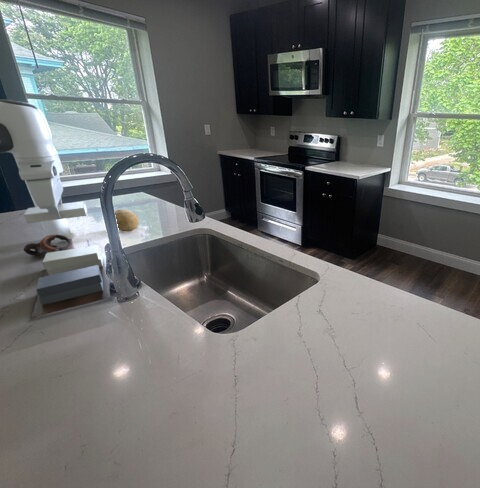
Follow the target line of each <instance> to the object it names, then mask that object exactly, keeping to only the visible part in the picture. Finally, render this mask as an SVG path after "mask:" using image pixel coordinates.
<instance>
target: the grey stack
mask: <svg viewBox="0 0 480 488" xmlns="http://www.w3.org/2000/svg"><path fill="white" fill-rule="evenodd" d="M99 291H103V279H102V276H101V272H100V269H99V266H98V265H95V266H91V267H86V268H82V269H77V270H72V271H68V272H63V273H59V274H54V275H50V276H45V277H44V276H41V277H38V279H37V283H36V292H37V295H38V294H39V297H38V298H39V300H40V302H41V305H45V304H49V303H53V302H58V301H62V300H66V299H70V298H74V297H78V296H83V295H87V294H91V293H95V292H99Z"/></svg>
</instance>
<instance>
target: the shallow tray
mask: <svg viewBox="0 0 480 488" xmlns="http://www.w3.org/2000/svg"><path fill="white" fill-rule="evenodd" d="M105 252H106V251H101V254H102V257H103V266H101V267H99V269H100V272H101V276H102V279H103V291H99V292H95V293H91V294H87V295H83V296H78V297H74V298H70V299H66V300H62V301H58V302H53V303H49V304H45V305H41V302H40V300H39V298H38V297H39V294H38V293H37V296H36V300H35V302H34V306H33V310H32V312H31V316H30V318H31V319H32V318H36V317H40V316H43V315H48V314H51V313H55V312H59V311H63V310H67V309H72V308H76V307H79V306H83V305H87V304H91V303H95V302H99V301H103V300H107V299H110V298H111V292H110V289H111V288H110V277H109V278H108V277H107V276H106V274H105V265H106V256H105ZM45 276H49V274H48V272H47V269H44V274H43V277H45Z"/></svg>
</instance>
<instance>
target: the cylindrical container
mask: <svg viewBox="0 0 480 488" xmlns="http://www.w3.org/2000/svg"><path fill="white" fill-rule="evenodd" d="M24 182H25V185H26V187H27V190H28V192H29V195H30V197H31V200H32V202H33V205H34V207H38V206H37V204H36V203H35V201H34V199H33V197H32V195H31V193H30V191H29V189H28V186H27V184H26V180H24ZM40 223H41V225H42V228H43V230H44V233H45V237H46V236H49V235H63V236H66V237H67V238H69V239H70V240H72V239H73V234H72V232H71V231H72V230H71V228H70V225H69V222H68V220H67V218H66V219H58V220H50V221H42V222H40ZM64 242H67V241H66V240H60V239H59V238H55V239H54V240H52V241H51V243H50V244H59V243H64Z"/></svg>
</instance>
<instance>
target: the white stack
mask: <svg viewBox="0 0 480 488" xmlns="http://www.w3.org/2000/svg"><path fill="white" fill-rule="evenodd" d="M101 253H102V251H101V249H100V246H99V244H96V245H89V246H82V247H77V248H71V249H69V250H63V251H59V250H58V251H57V252H46V254H45V255H44V258H43V259H42V261H41V263H42V266H43V268H44V270H46V269H47V272H48V274H49V276H50V275H54V274H59V273H63V272H68V271H72V270H77V269H82V268H86V267H91V266H95V265H98V266H99V267H101V266H103V257H102V254H101Z"/></svg>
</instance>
